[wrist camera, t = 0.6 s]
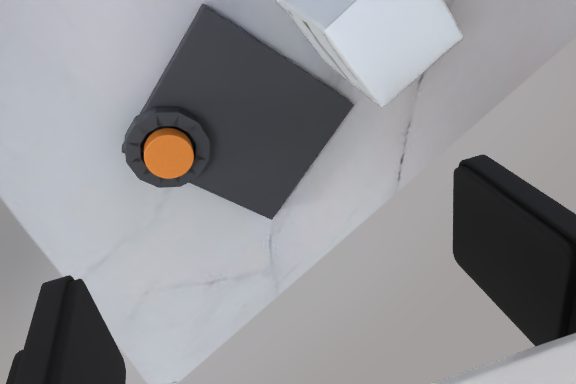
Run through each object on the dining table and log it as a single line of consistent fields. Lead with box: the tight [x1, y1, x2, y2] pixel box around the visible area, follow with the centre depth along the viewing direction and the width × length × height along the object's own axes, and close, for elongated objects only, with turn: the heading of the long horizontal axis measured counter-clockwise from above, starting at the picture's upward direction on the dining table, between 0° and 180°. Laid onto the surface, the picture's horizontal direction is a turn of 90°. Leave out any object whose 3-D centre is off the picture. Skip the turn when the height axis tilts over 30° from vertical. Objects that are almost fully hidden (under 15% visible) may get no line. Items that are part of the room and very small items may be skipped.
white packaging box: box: [276, 0, 463, 107], centre depth 36 cm, size 7×7×13 cm
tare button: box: [144, 128, 194, 179], centre depth 40 cm, size 4×4×2 cm
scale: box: [122, 4, 353, 219], centre depth 43 cm, size 16×15×3 cm
